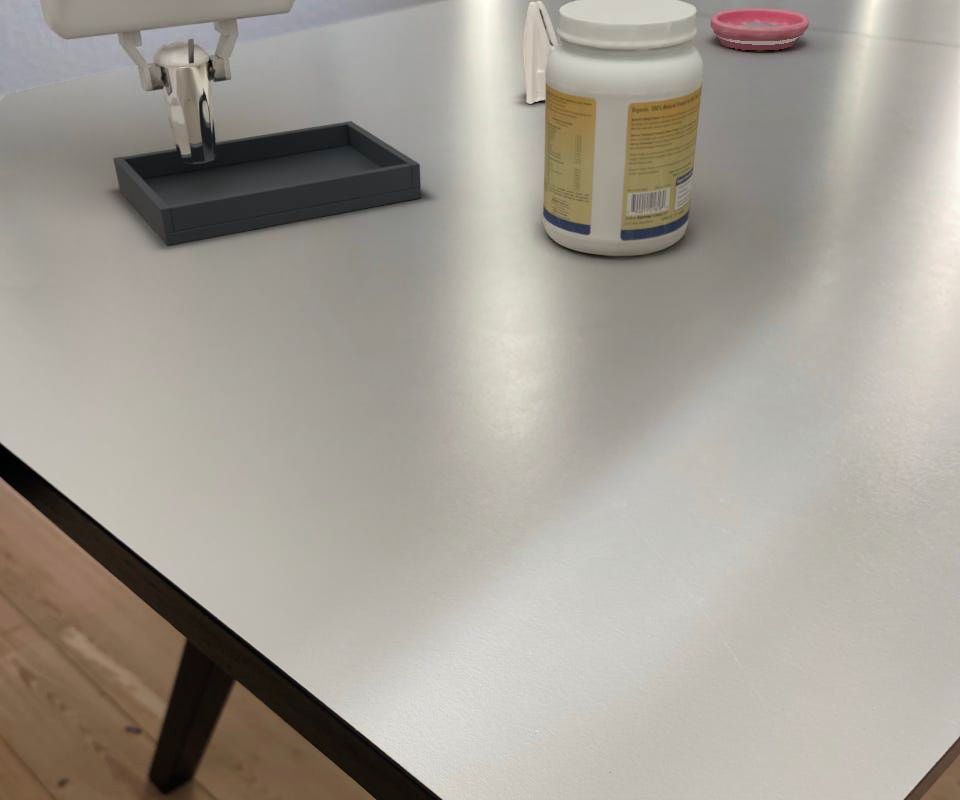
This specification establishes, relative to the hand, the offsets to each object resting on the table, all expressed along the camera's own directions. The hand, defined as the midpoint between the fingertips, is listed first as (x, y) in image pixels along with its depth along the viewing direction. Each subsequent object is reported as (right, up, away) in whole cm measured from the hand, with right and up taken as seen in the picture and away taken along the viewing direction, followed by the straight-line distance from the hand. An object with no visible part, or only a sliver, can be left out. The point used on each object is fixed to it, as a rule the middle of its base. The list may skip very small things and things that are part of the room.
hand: (186, 84), depth 94 cm
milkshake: (0, -5, +4) cm, 6 cm away
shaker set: (+35, +15, +34) cm, 51 cm away
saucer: (+61, +31, +52) cm, 86 cm away
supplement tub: (+36, -13, 0) cm, 38 cm away
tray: (+5, -6, +9) cm, 12 cm away
